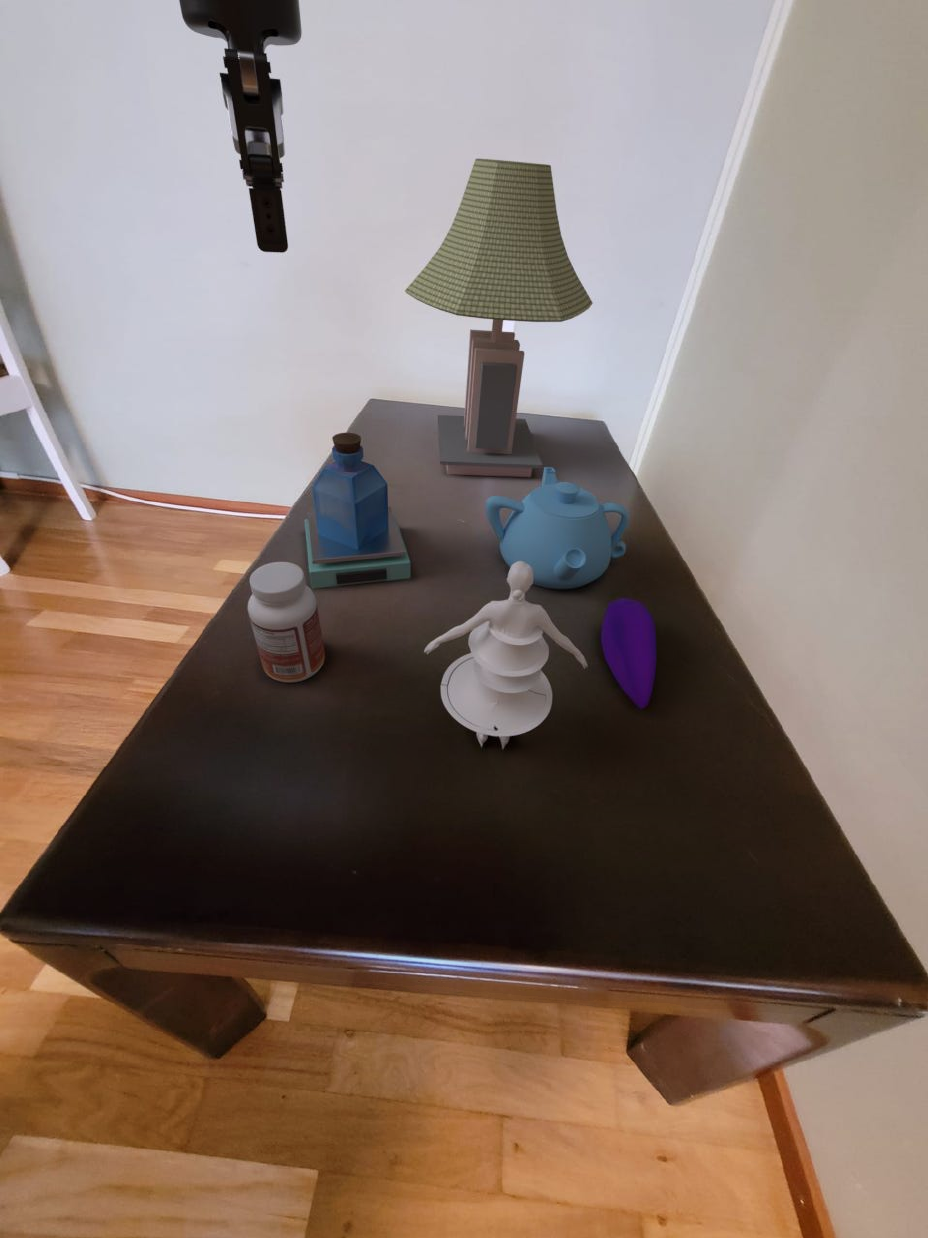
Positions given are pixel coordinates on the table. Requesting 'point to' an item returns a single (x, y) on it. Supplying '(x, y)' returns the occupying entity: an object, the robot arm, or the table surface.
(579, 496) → the teapot
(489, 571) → the table surface
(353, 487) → the perfume bottle
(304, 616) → the pill bottle
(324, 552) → the pan
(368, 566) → the scale
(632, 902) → the table surface
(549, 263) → the desk lamp
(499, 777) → the table surface
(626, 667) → the purple teardrop shape
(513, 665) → the figurine
